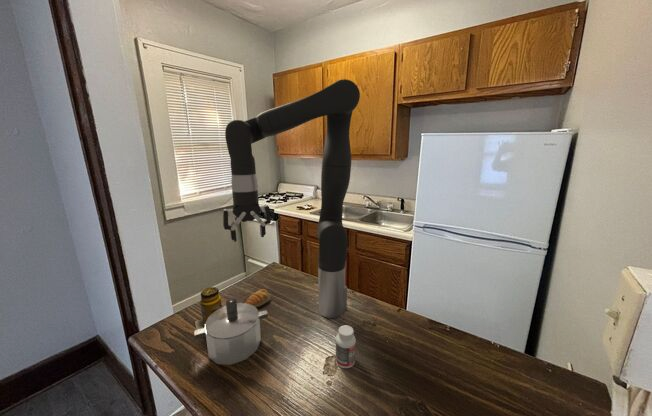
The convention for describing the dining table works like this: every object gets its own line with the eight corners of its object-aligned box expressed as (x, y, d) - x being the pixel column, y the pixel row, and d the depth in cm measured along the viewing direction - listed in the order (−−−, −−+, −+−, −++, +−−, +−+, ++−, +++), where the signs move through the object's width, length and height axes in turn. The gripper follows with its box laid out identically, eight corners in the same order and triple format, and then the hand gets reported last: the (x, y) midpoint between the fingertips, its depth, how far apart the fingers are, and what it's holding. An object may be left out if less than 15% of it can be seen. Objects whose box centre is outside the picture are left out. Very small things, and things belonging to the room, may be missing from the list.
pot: (262, 319, 85) (261, 298, 83) (274, 349, 72) (273, 325, 70) (197, 339, 76) (194, 316, 74) (198, 376, 64) (194, 350, 62)
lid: (253, 303, 82) (251, 283, 80) (264, 331, 70) (262, 308, 68) (205, 317, 76) (202, 295, 74) (207, 350, 63) (203, 324, 61)
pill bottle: (352, 371, 65) (353, 339, 63) (333, 366, 67) (333, 334, 64) (356, 355, 70) (357, 325, 68) (338, 351, 72) (338, 321, 69)
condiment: (226, 325, 82) (222, 292, 79) (197, 335, 78) (193, 301, 75) (221, 313, 88) (218, 282, 85) (194, 322, 84) (190, 290, 81)
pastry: (253, 312, 88) (252, 303, 88) (240, 306, 92) (239, 297, 91) (272, 299, 96) (271, 290, 95) (259, 294, 100) (259, 286, 99)
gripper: (265, 185, 83) (267, 232, 87) (219, 189, 77) (224, 238, 81) (271, 189, 77) (273, 238, 81) (221, 192, 70) (226, 246, 74)
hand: (248, 238), depth 81 cm, fingers open, 8 cm apart
